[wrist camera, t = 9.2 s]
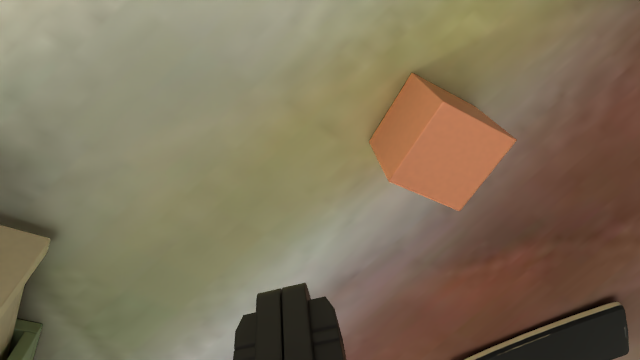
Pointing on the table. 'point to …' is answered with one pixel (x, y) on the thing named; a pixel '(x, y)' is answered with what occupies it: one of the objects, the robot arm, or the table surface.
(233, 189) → the table surface
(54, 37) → the table surface
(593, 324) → the smartphone
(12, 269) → the drawer
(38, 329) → the cabinet
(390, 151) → the block
